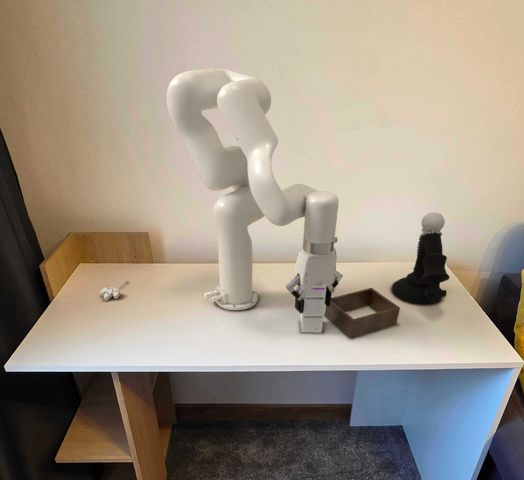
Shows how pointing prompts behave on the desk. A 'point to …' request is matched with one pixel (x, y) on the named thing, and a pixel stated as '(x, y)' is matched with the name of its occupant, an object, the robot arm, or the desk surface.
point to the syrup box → (313, 309)
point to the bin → (365, 324)
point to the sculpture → (425, 266)
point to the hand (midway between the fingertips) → (312, 307)
